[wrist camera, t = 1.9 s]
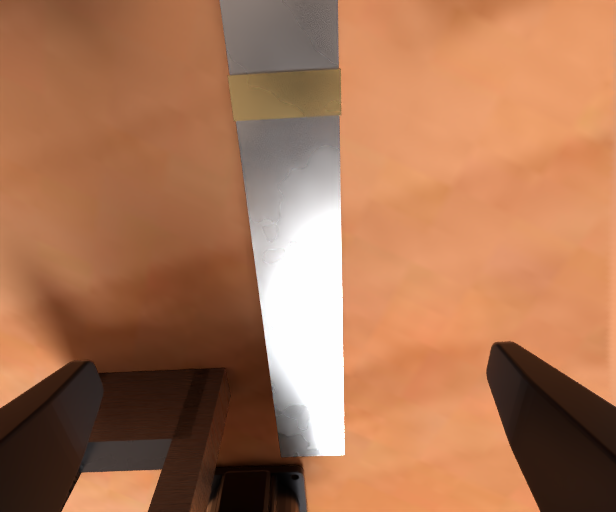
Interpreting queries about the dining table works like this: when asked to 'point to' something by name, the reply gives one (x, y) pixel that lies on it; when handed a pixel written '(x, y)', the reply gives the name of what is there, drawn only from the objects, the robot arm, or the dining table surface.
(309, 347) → the grey metal bar
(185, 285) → the dining table surface
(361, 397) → the dining table surface
